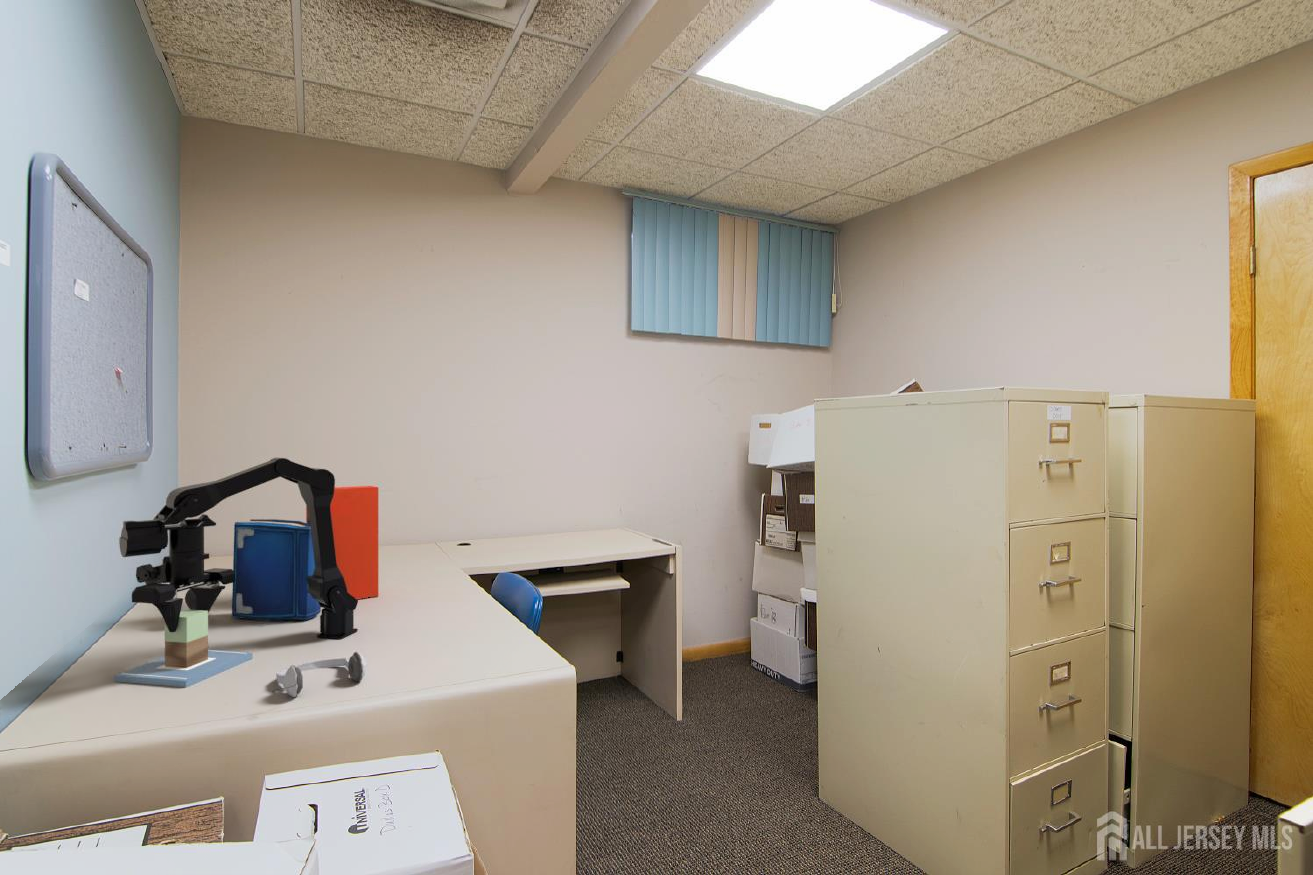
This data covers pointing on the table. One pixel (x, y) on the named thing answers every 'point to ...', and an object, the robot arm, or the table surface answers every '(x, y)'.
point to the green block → (189, 626)
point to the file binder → (356, 538)
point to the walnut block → (186, 653)
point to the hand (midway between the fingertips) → (186, 627)
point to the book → (273, 570)
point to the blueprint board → (183, 670)
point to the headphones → (293, 674)
